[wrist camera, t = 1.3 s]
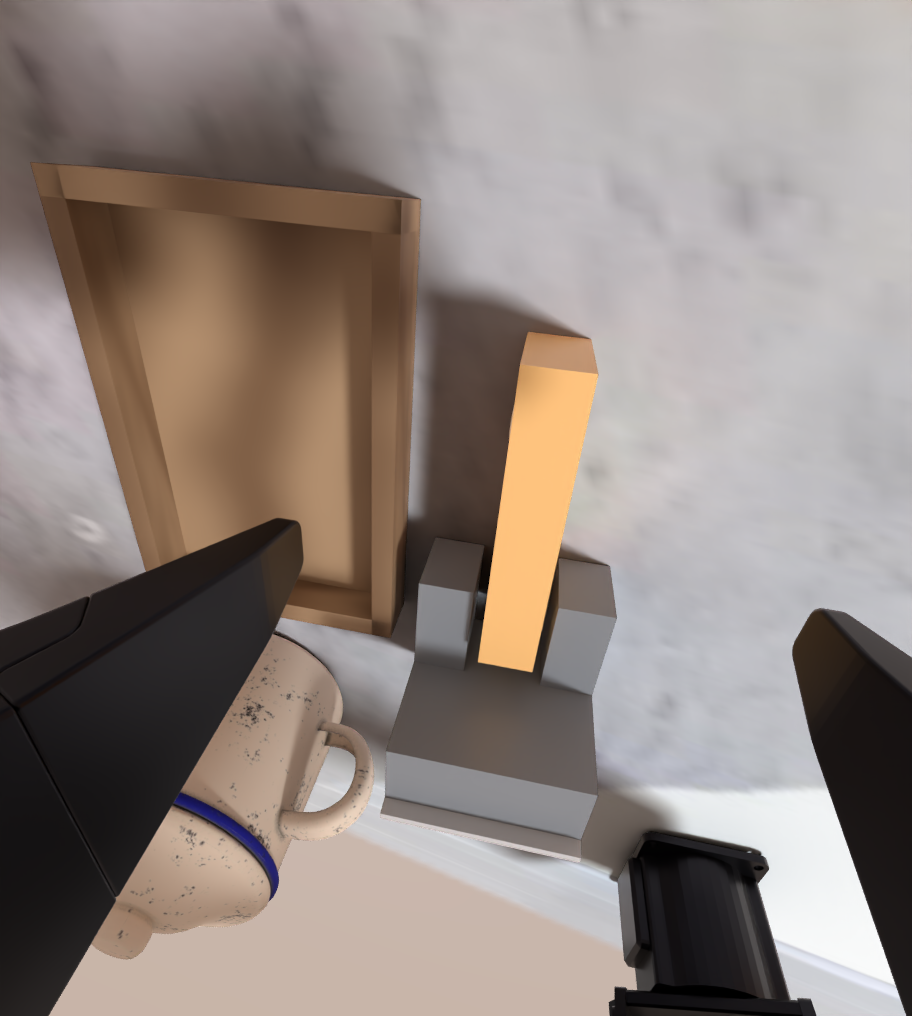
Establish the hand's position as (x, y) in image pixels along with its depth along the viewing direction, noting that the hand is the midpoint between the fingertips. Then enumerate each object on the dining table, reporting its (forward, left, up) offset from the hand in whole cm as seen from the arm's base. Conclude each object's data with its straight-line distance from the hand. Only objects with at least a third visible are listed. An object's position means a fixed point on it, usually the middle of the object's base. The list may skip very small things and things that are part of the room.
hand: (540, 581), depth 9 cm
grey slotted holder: (0, +10, -10) cm, 14 cm away
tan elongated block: (0, +3, -10) cm, 11 cm away
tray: (+10, +2, -10) cm, 14 cm away
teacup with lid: (+11, +17, -10) cm, 23 cm away
